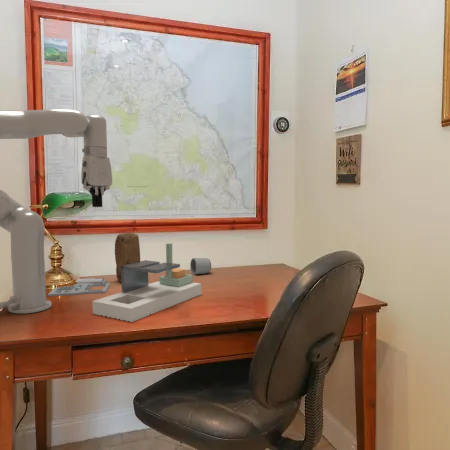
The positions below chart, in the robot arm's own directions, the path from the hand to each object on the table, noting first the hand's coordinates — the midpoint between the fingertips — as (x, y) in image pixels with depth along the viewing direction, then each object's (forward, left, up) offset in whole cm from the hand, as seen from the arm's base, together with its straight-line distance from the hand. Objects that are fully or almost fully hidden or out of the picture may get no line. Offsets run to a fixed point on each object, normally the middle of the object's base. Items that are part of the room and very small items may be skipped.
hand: (97, 206), depth 142 cm
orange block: (+17, -20, -28) cm, 38 cm away
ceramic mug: (+53, -6, -32) cm, 62 cm away
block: (+24, +10, -32) cm, 41 cm away
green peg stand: (+18, -20, -28) cm, 39 cm away
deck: (+4, -20, -32) cm, 38 cm away
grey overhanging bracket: (+4, -20, -28) cm, 35 cm away
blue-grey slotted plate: (+8, +18, -33) cm, 38 cm away
